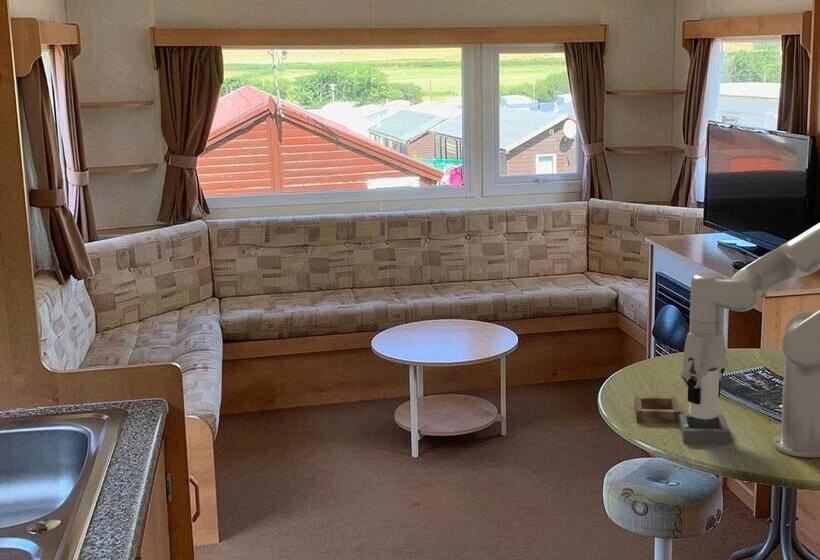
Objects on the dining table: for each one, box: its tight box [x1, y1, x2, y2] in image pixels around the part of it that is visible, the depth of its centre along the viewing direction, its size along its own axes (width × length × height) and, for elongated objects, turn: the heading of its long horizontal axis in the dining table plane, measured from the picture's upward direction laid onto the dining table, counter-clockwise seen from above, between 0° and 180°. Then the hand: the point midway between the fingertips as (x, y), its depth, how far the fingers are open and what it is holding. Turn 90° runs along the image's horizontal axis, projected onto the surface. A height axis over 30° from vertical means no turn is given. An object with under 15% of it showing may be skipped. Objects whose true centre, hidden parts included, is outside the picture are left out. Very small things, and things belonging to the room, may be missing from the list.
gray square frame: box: [678, 413, 731, 445], centre depth 225 cm, size 10×10×4 cm
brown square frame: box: [633, 395, 681, 424], centre depth 238 cm, size 10×10×3 cm
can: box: [688, 369, 719, 420], centre depth 223 cm, size 6×6×12 cm
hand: (703, 398), depth 223 cm, fingers closed on can, 6 cm apart
